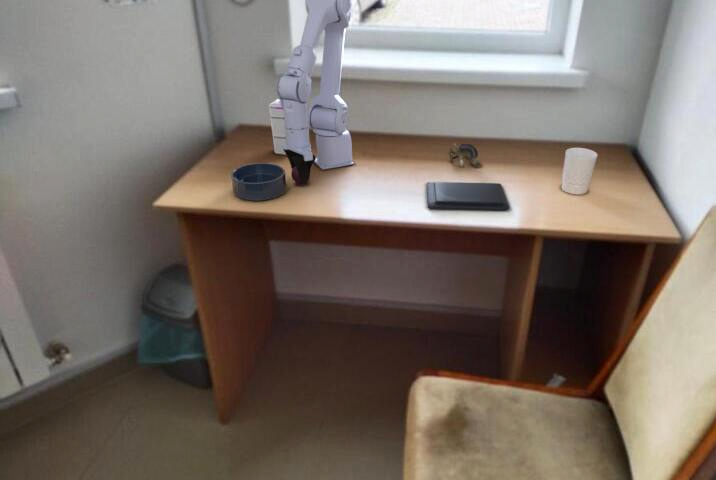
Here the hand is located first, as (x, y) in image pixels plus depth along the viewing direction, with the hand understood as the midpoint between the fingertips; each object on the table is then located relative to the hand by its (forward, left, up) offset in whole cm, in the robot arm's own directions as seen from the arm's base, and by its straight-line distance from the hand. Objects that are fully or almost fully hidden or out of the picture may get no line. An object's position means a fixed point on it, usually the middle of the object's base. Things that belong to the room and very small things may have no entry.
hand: (301, 178), depth 145 cm
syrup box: (-4, -24, -2) cm, 24 cm away
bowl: (+11, 0, -2) cm, 11 cm away
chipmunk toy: (-46, +7, -2) cm, 47 cm away
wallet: (-35, +26, -2) cm, 43 cm away
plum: (0, 0, -1) cm, 1 cm away
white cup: (-63, +34, -2) cm, 72 cm away
